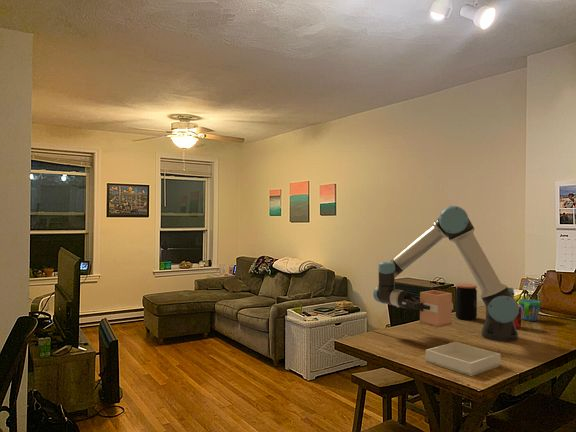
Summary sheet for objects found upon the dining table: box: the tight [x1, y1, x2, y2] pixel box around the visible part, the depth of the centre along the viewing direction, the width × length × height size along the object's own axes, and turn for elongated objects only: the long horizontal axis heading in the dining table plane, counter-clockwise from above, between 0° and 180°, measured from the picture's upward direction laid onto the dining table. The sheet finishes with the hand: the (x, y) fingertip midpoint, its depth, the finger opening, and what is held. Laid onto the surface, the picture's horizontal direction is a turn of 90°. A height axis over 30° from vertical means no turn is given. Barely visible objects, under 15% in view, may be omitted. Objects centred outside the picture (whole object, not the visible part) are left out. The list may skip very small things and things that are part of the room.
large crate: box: [425, 341, 501, 377], centre depth 168 cm, size 19×19×4 cm
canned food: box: [514, 304, 522, 330], centre depth 223 cm, size 8×8×11 cm
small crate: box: [419, 289, 453, 328], centre depth 187 cm, size 9×9×13 cm
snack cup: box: [517, 298, 542, 322], centre depth 238 cm, size 16×10×10 cm
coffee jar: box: [455, 283, 478, 321], centre depth 241 cm, size 11×11×18 cm
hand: (445, 307), depth 183 cm, fingers closed on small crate, 9 cm apart
